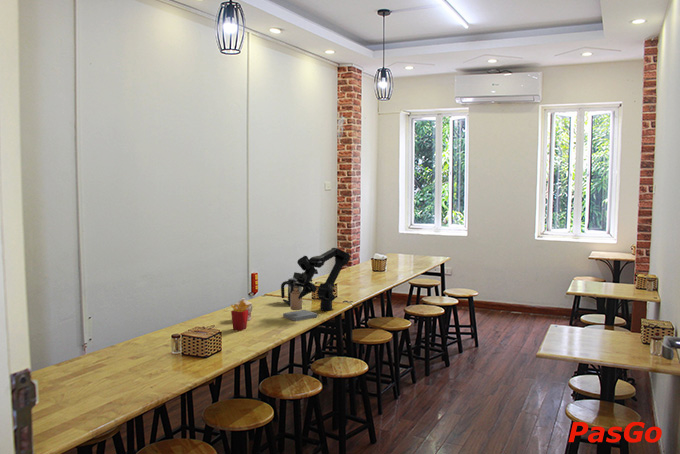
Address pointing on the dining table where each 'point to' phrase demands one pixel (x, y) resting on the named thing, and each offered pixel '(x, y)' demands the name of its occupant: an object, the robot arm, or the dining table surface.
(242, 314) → the french fries
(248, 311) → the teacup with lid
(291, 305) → the sauce bottle
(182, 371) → the dining table surface
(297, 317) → the serving board
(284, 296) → the milk frother
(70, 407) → the dining table surface
